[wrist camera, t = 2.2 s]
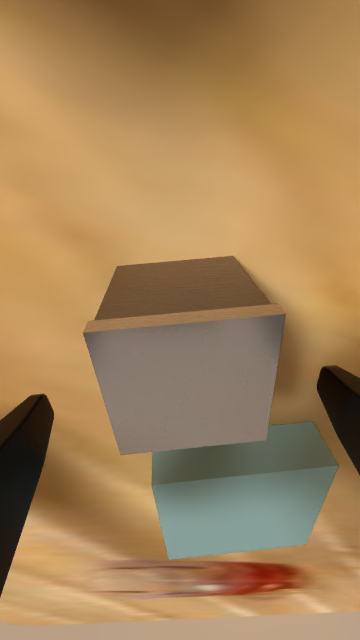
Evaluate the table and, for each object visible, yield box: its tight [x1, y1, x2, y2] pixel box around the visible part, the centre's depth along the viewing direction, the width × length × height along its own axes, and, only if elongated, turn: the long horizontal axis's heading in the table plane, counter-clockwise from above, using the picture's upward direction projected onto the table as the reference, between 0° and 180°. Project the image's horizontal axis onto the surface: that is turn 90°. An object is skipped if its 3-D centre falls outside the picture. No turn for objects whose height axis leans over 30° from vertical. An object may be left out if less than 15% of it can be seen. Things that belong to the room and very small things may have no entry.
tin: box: [83, 256, 286, 455], centre depth 11 cm, size 5×5×6 cm
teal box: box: [152, 421, 339, 560], centre depth 20 cm, size 11×11×4 cm
